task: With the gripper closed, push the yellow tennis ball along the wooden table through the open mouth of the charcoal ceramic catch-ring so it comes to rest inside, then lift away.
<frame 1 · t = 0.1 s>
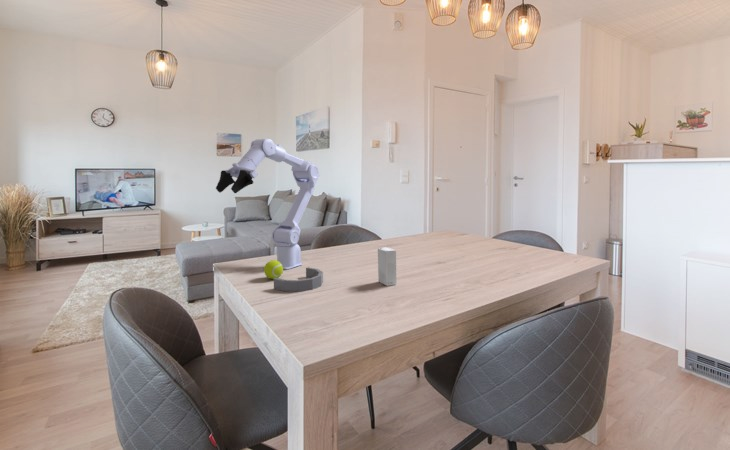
hand: (225, 190, 123), 32 cm above the table, tool tilted 50°, fingers open, 7 cm apart
skincare box: (386, 283, 130), on the table
tennis ball: (273, 279, 134), on the table
catch ring: (297, 283, 129), on the table
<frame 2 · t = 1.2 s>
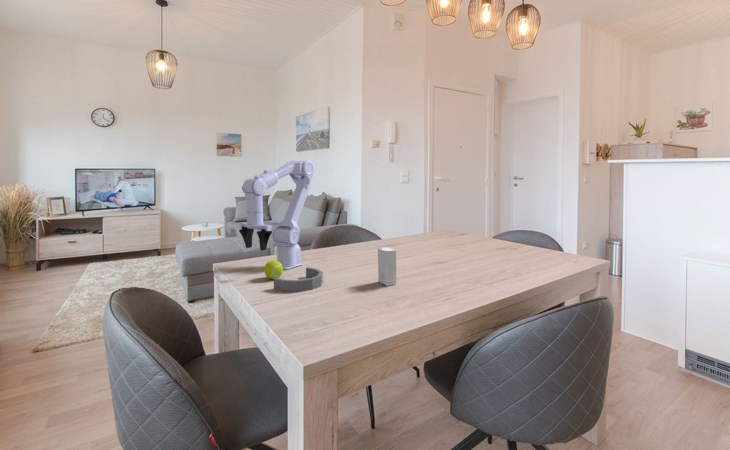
hand: (256, 248, 137), 10 cm above the table, tool pointing down, fingers open, 7 cm apart
nothing on the table moved.
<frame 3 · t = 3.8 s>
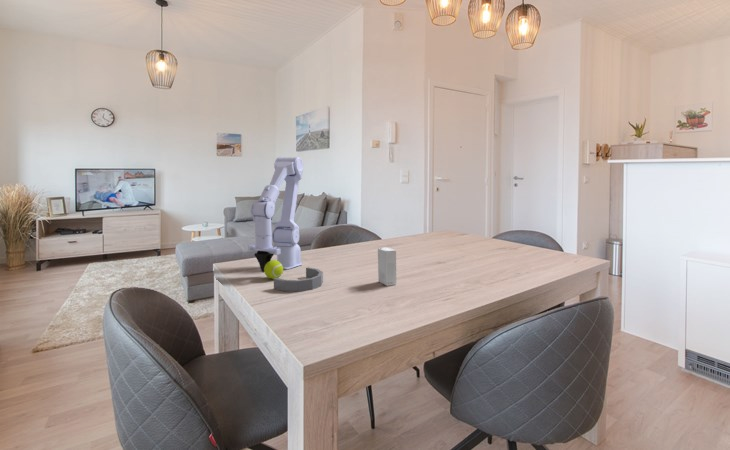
hand: (264, 271, 136), 2 cm above the table, tool pointing down, fingers closed
tennis ball: (273, 279, 134), on the table, touching gripper
everything else where it was.
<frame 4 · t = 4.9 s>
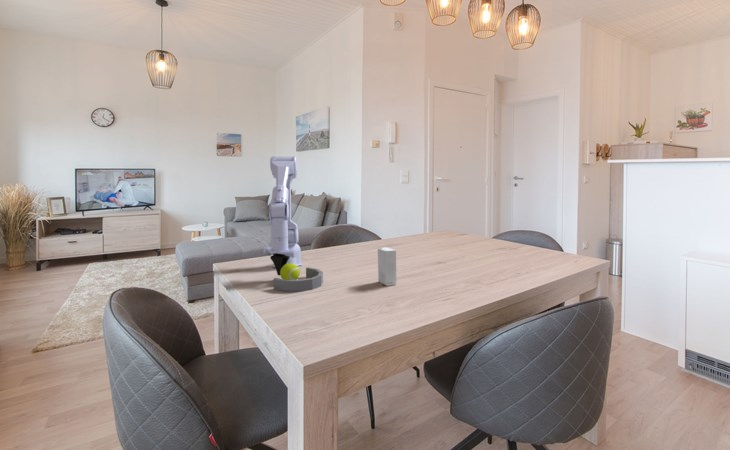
hand: (280, 274, 132), 2 cm above the table, tool pointing down, fingers closed
tennis ball: (290, 282, 130), on the table, touching gripper
everything else where it was.
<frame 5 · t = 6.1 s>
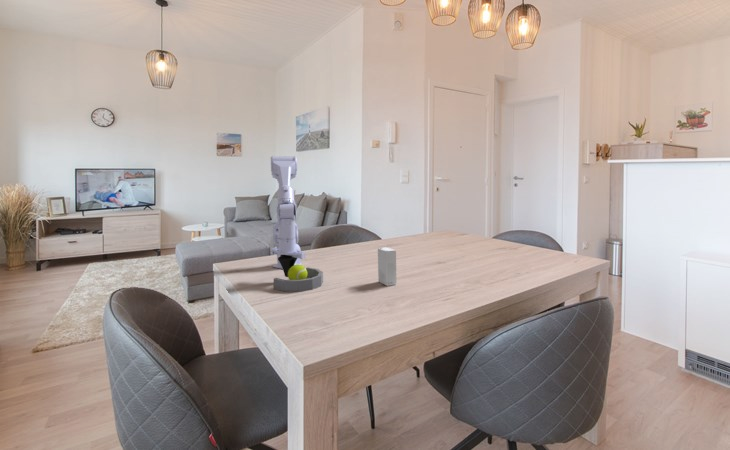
hand: (288, 276, 130), 2 cm above the table, tool pointing down, fingers closed
tennis ball: (297, 284, 128), on the table, touching gripper
everything else where it was.
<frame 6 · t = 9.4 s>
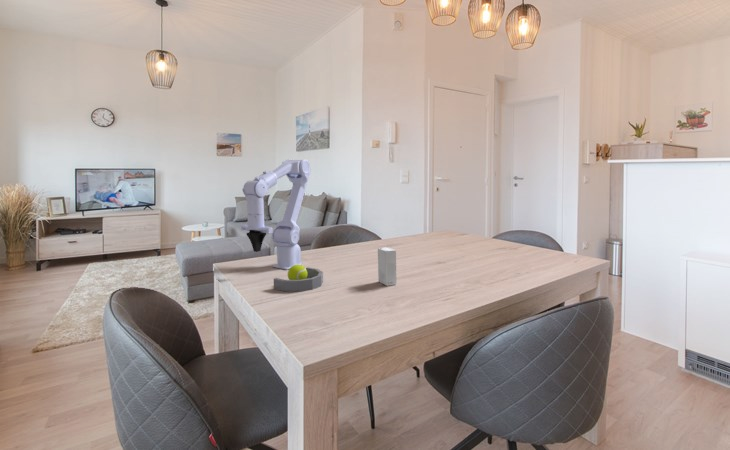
hand: (257, 251, 136), 9 cm above the table, tool pointing down, fingers closed
tennis ball: (297, 284, 128), on the table
everything else where it was.
at the end: tennis ball inside the target area on the catch ring (2.1 cm from its centre), point 0.0 cm above the catch ring's base; tennis ball moved 11.4 cm from its start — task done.
